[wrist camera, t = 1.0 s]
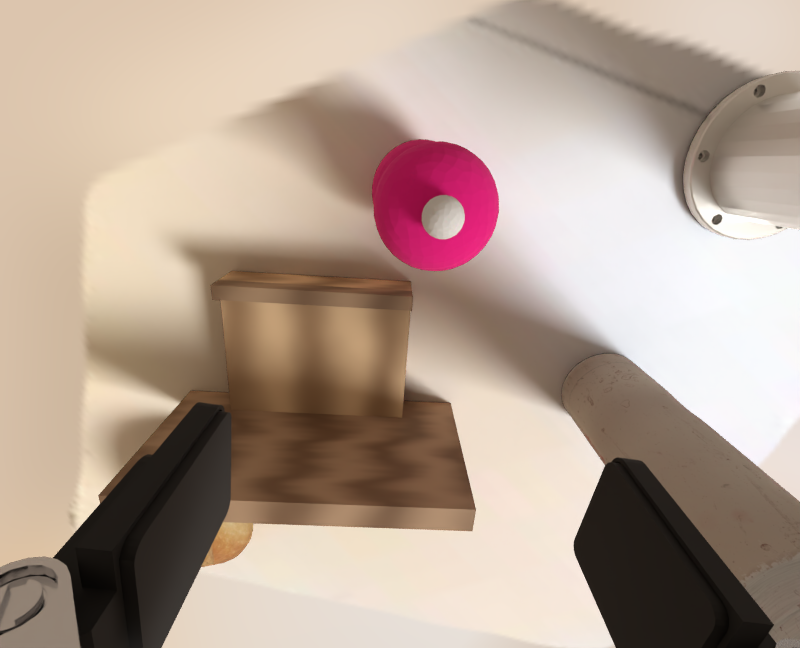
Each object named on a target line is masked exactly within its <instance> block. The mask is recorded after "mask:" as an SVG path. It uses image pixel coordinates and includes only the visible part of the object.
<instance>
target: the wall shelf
mask: <svg viewBox="0 0 800 648" xmlns="http://www.w3.org/2000/svg"><path fill="white" fill-rule="evenodd" d="M211 293H212V300H221V311H222V321H223V332H224V343H225V353H226V364H227V374H228V385H229V393H228V392H207V391H190V392H189V393H188V395H187V396H186V397H185V398H184V399H183V400H182V401H181V402H180V404H179V405H178V406H177V407H176V408H175V409H174V410H173V412H172V413H171V414H170V415H169V416H168V417H167V418H166V419H165V421H164V422H163V423H162V424H161V425H160V426H159V427H158V429H157V430H156V431H155V432H154V433H153V434H152V435H151V436H150V438H149V439H148V440H147V441H146V442H145V443H144V444H143V445H142V447H141V448H140V449H139V450H138V451H137V452H136V453H135V455H134V456H133V457H132V458H131V459H130V460H129V461H128V462H127V464H126V465H125V466H124V467H123V468H122V469H121V470H120V472H119V473H118V474H117V475H116V476H115V477H114V478H113V479H112V481H111V482H110V483H109V484H108V485H107V486H106V487H105V489H104V490H103V491H102V492H101V493H100V494H99V495H98V496H99V500H100V504H101V502H102V501H103V500H104V499H105V498H106V497H107V496H108V494H109V493H110V492H111V491H112V490H113V489H114V487H115V486H116V485H117V484H118V483H119V482H120V481H121V479H122V478H123V477H124V476H125V475H126V474H127V473H128V471H129V470H130V469H131V468H132V467H133V466H134V465H135V463H136V462H137V461H138V460H139V459H140V458H141V457H143V456H145V455H147V454H151V455H153V454H154V453H155V451H156V450H157V449H158V448H159V447H160V445H161V444H162V443H163V442H164V441H165V440H166V438H167V437H168V436H169V435H170V434H171V432H172V431H173V430H174V429H175V428H176V426H177V425H178V424H179V423H180V422H181V420H182V419H183V418H184V417H185V416H186V415H187V413H188V412H189V411H190V410H191V409H192V407H193V406H194V405H195V404H196V403H198V402H202V403H210V404H217V405H222V406H224V409H225V412H230V413H231V418H232V419H231V501H230V506H229V509H228V512H227V515H226V517H225V519H224V521H223V522H233V523H261V524H288V525H316V526H344V527H372V528H399V529H427V530H455V531H472V530H473V524H474V518H475V512H476V508H475V504H474V500H473V496H472V491H471V487H470V483H469V479H468V475H467V470H466V466H465V462H464V458H463V454H462V449H461V445H460V441H459V437H458V433H457V428H456V424H455V420H454V416H453V412H452V407H451V403H437V402H416V401H403V400H404V387H405V374H406V361H407V348H408V335H409V323H410V311H412V301H413V295H412V288H411V281H394V280H376V279H359V278H342V277H325V276H308V275H291V274H274V273H257V272H240V271H231V272H229V273H228V274H227V275H225V276H224V277H222V278H221V279H219V280H218V281H216V282H215V283H213V284H212V285H211Z"/></svg>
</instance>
